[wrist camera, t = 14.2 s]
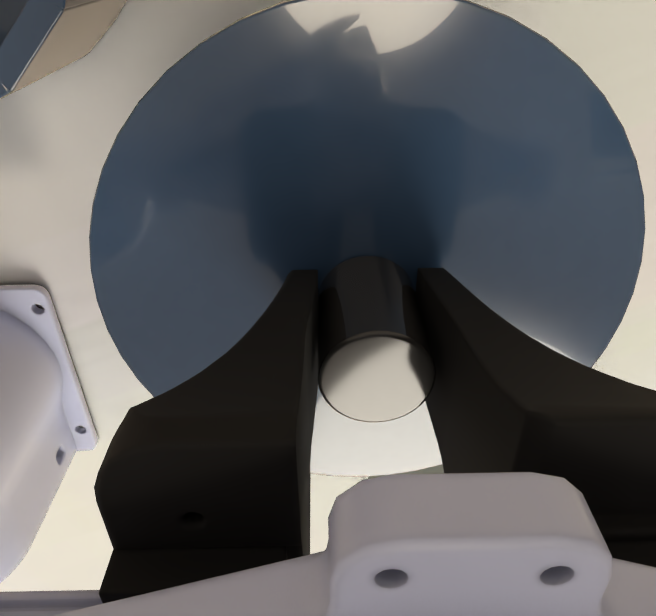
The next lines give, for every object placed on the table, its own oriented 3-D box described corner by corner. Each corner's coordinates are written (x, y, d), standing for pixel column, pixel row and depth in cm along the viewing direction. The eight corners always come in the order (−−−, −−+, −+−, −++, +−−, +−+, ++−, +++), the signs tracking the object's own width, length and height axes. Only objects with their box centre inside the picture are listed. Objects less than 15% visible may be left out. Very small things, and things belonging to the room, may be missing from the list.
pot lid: (705, -21, 11) (885, -1, 8) (560, 447, 19) (617, 568, 15) (35, -12, 11) (-99, 11, 8) (155, 454, 19) (115, 578, 15)
